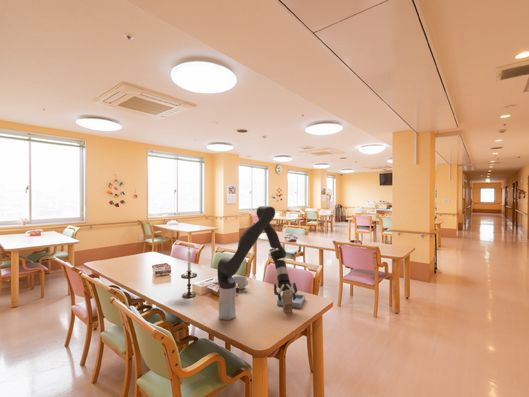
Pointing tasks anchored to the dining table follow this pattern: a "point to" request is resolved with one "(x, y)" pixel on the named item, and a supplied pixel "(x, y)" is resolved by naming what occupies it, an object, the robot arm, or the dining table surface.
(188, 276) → the candlestick
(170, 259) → the dining table surface
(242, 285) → the teacup
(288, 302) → the wick block
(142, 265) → the dining table surface
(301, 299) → the candle dish
